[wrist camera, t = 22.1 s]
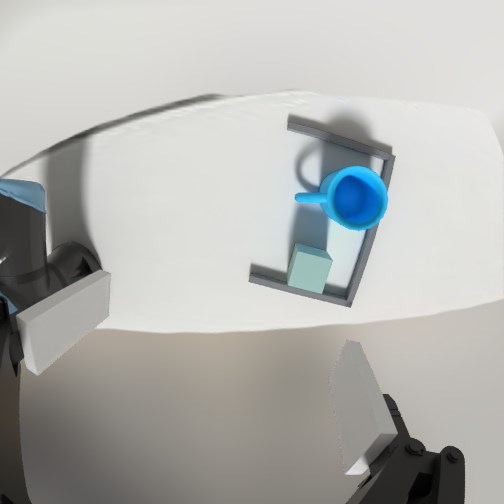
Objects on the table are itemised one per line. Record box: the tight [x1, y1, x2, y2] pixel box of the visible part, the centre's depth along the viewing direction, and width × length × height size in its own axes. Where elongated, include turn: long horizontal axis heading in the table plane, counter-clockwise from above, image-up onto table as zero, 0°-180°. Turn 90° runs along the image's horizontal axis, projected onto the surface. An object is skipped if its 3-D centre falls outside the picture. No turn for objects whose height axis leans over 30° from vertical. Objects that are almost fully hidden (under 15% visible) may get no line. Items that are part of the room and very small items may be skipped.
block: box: [287, 243, 333, 294], centre depth 41 cm, size 5×5×6 cm
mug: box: [295, 166, 388, 231], centre depth 37 cm, size 12×8×8 cm
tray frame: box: [248, 122, 395, 308], centre depth 41 cm, size 17×25×2 cm
